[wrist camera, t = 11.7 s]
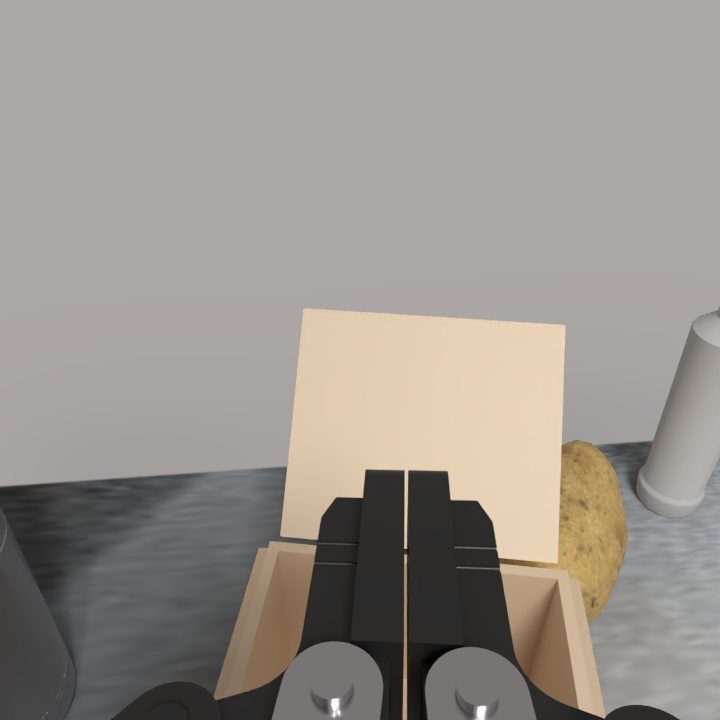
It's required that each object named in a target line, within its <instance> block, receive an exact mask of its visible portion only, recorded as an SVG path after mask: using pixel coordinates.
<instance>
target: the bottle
mask: <svg viewBox="0 0 720 720" xmlns="http://www.w3.org/2000/svg"><path fill="white" fill-rule="evenodd" d="M719 457H720V307H719V309H718V310H717V311H714V312H711V313H708V314H705V315H702V316H699V317H698V318H697V319H695V320H694V321H693V323H692V326H691V329H690V332H689V335H688V338H687V341H686V344H685V347H684V350H683V353H682V356H681V359H680V362H679V365H678V368H677V371H676V374H675V377H674V380H673V383H672V386H671V389H670V392H669V395H668V398H667V401H666V404H665V408H664V410H663V413H662V416H661V419H660V422H659V426H658V428H657V431H656V434H655V437H654V440H653V443H652V446H651V449H650V452H649V455H648V458H647V461H646V464H645V465H644V466H643V467H642V468H641V469H640V471H639V474H638V478H637V484H636V493H637V495H638V497H639V500H640V501H641V502H642V503H643V504H644V505H645V506H646V507H647V508H648V509H650V510H651V511H653V512H655V513H656V514H658V515H661V516H665V517H668V518H680V519H682V518H685V517H688V516H690V515H692V514H693V513H694V512H695V510H696V509H697V508H698V507H699V506H700V504H701V503H702V501H703V499H704V497H705V486H706V483H707V481H708V479H709V477H710V475H711V473H712V471H713V469H714V467H715V465H716V463H717V461H718V459H719Z"/></svg>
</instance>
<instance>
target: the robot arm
mask: <svg viewBox="0 0 720 720" xmlns="http://www.w3.org/2000/svg"><path fill="white" fill-rule="evenodd" d="M404 522H405V470H374V469H366V471H365V479H364V491H363V498H350V497H336V498H335V499H334V501H333V502H332V503H331V505H330V506H329V507H328V509H327V510H326V512H325V513H324V514H323V516H322V517H321V522H320V528H319V534H318V540H317V546H316V552H315V558H314V566H313V570H312V576H311V583H310V589H309V595H308V601H307V607H306V613H305V619H304V625H303V631H302V637H301V642H300V646H299V649H298V651H297V653H296V656H295V657H294V659H293V660H292V662H291V663H290V665H289V666H288V667H287V668H286V669H285V671H283V672H282V673H281V674H280V675H279V676H278V677H276V678H275V679H274V680H272V681H271V682H269V683H267V684H265V685H263V686H261V687H259V688H256V689H253V690H250V691H247V692H243V693H240V694H236V695H233V696H229V697H225V698H222V699H218V700H216V699H215V698H214V697H213V696H212V694H211V693H210V692H209V691H207V690H206V689H205V688H203V687H201V686H199V685H197V684H193V683H190V682H172V683H167V684H163V685H160V686H158V687H155V688H153V689H151V690H149V691H147V692H145V693H144V694H143V695H141V696H140V697H138V698H137V699H136V700H135V701H133V702H132V703H131V704H130V705H128V706H127V707H126V708H125V709H124V710H122V711H121V712H120V713H119V714H117V715H116V716H115V717H114V718H112V719H111V720H403V674H404ZM75 684H76V679H75V668H74V665H73V662H72V659H71V657H70V655H69V652H68V650H67V648H66V646H65V644H64V642H63V640H62V637H61V635H60V633H59V631H58V629H57V626H56V624H55V622H54V620H53V617H52V615H51V613H50V611H49V609H48V607H47V605H46V602H45V600H44V598H43V596H42V594H41V592H40V590H39V588H38V585H37V583H36V581H35V579H34V577H33V575H32V573H31V570H30V568H29V566H28V564H27V562H26V560H25V558H24V556H23V553H22V551H21V549H20V547H19V545H18V543H17V541H16V538H15V536H14V534H13V532H12V530H11V528H10V526H9V524H8V521H7V519H6V517H5V515H4V513H3V511H2V509H1V507H0V720H64V718H65V716H66V715H67V713H68V710H69V707H70V705H71V702H72V699H73V696H74V690H75ZM407 720H679V719H678V718H676V717H674V716H673V715H671V714H669V713H667V712H664V711H662V710H660V709H656V708H653V707H650V706H643V705H629V706H624V707H620V708H618V709H615V710H614V711H612V712H611V713H609V714H608V715H607V716H606V717H605V718H602V717H599V716H596V715H593V714H591V713H588V712H585V711H582V710H580V709H577V708H574V707H571V706H569V705H566V704H564V703H561V702H559V701H557V700H555V699H553V698H552V697H550V696H548V695H547V694H545V693H544V692H543V691H541V690H540V689H539V688H538V687H537V686H535V685H534V684H533V683H532V682H531V681H530V679H529V678H528V677H527V676H526V674H525V673H524V672H523V670H522V668H521V667H520V665H519V663H518V661H517V658H516V656H515V652H514V648H513V642H512V635H511V629H510V623H509V617H508V611H507V605H506V599H505V593H504V587H503V581H502V575H501V572H500V563H499V557H498V551H497V545H496V539H495V533H494V527H493V522H492V520H491V519H490V517H489V516H488V515H487V513H486V512H485V510H484V509H483V508H482V506H481V505H480V503H479V502H478V501H474V500H451V499H450V488H449V476H448V471H426V470H408V505H407Z"/></svg>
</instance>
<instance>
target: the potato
mask: <svg viewBox="0 0 720 720" xmlns="http://www.w3.org/2000/svg"><path fill="white" fill-rule="evenodd" d="M627 541H628V532H627V524H626V517H625V512H624V507H623V503H622V498H621V493H620V487H619V482H618V478H617V476H616V473H615V470H614V469H613V467H612V466H611V464H610V462H609V461H608V459H607V458H606V456H605V455H604V454H603V453H602V452H601V451H599V450H598V449H597V448H596V447H595V446H593V445H592V444H591V443H587V442H583V441H579V440H575V441H572V442H569V443H567V444H564V445H562V446H561V477H560V508H559V539H558V564H556V563H546V562H536V561H526V560H516V559H506V558H499V563H500V564H507V565H517V566H527V567H537V568H547V569H557V570H567V571H568V574H569V579H578V580H579V581H580V587H581V592H582V597H583V602H584V607H585V612H586V617H587V623H589V622H590V621H591V620H593V619H594V618H595V617H597V616H598V615H599V614H600V613H601V611H602V609H603V607H604V605H605V604H606V602H607V600H608V598H609V596H610V594H611V591H612V589H613V586H614V584H615V582H616V579H617V577H618V574H619V571H620V568H621V564H622V561H623V558H624V554H625V550H626V545H627Z"/></svg>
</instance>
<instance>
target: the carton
mask: <svg viewBox="0 0 720 720" xmlns="http://www.w3.org/2000/svg"><path fill="white" fill-rule="evenodd" d="M315 552H316V545H306V544H296V543H286V542H276V541H270V543H269V547H268V548H260V547H259V549H258V552H257V556H256V559H255V562H254V566H253V569H252V572H251V575H250V579H249V582H248V585H247V588H246V592H245V595H244V598H243V602H242V605H241V608H240V611H239V615H238V618H237V621H236V624H235V628H234V631H233V634H232V638H231V641H230V644H229V647H228V651H227V654H226V657H225V660H224V664H223V667H222V670H221V674H220V677H219V680H218V683H217V687H216V690H215V693H214V698H215V699H216V700H218V699H222V698H225V697H229V696H233V695H236V694H240V693H243V692H247V691H250V690H253V689H256V688H259V687H261V686H263V685H265V684H267V683H269V682H271V681H272V680H274V679H275V678H276V677H278V676H279V675H280V674H281V673H282V672H283V671H285V669H286V668H287V667H288V666H289V665H290V663H291V662H292V660H293V659H294V657H295V656H296V653H297V651H298V649H299V646H300V642H301V637H302V631H303V625H304V619H305V613H306V607H307V601H308V595H309V589H310V583H311V576H312V570H313V566H314V558H315ZM500 572H501V575H502V581H503V587H504V593H505V599H506V605H507V611H508V617H509V623H510V629H511V635H512V642H513V648H514V652H515V656H516V658H517V661H518V663H519V665H520V667H521V668H522V670H523V672H524V673H525V674H526V676H527V677H528V678H529V679H530V681H531V682H532V683H533V684H534V685H535V686H537V687H538V688H539V689H540V690H541V691H543V692H544V693H545V694H547V695H548V696H550V697H552V698H553V699H555V700H557V701H559V702H561V703H564V704H566V705H569V706H571V707H574V708H577V709H580V710H582V711H585V712H588V713H591V714H593V715H596V716H599V717H602V718H605V717H606V715H605V710H604V705H603V700H602V695H601V690H600V684H599V679H598V674H597V669H596V664H595V659H594V654H593V648H592V643H591V638H590V633H589V628H588V623H587V617H586V612H585V607H584V602H583V597H582V592H581V587H580V581H579V580H578V579H569V574H568V571H567V570H557V569H547V568H537V567H527V566H517V565H507V564H500ZM403 720H407V554H404V674H403Z"/></svg>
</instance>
